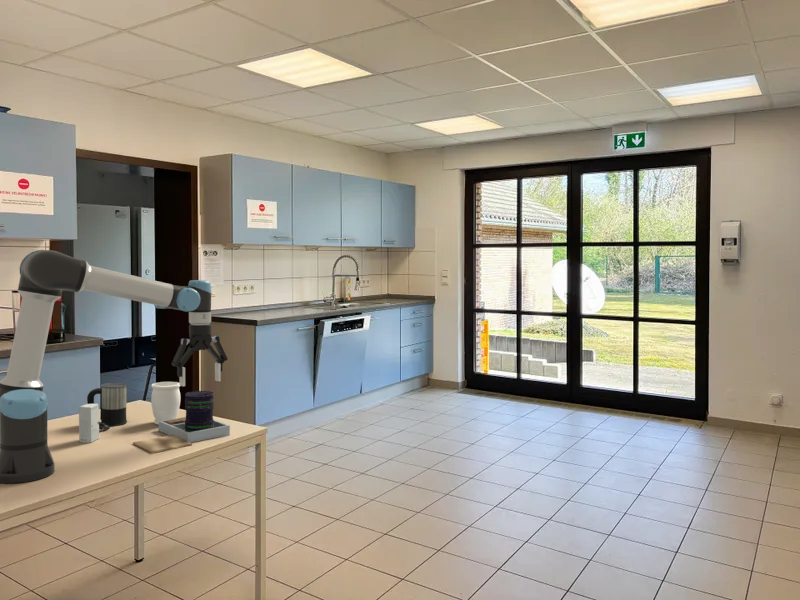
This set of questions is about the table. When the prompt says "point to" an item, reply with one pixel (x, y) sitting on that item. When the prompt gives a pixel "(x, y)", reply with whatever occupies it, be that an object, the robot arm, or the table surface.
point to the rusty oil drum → (199, 410)
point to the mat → (162, 443)
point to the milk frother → (111, 404)
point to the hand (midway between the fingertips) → (200, 383)
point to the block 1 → (173, 421)
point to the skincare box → (88, 423)
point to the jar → (165, 400)
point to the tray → (180, 432)
